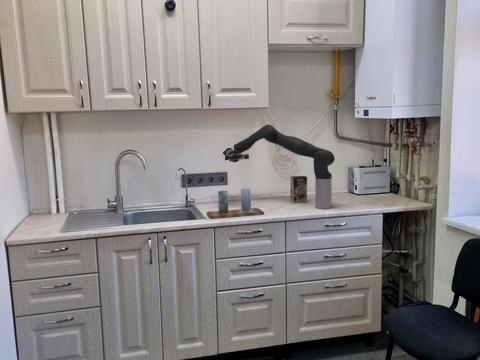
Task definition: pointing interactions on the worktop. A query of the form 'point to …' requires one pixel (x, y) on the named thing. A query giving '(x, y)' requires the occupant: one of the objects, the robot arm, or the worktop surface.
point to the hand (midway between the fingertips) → (239, 157)
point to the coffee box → (298, 189)
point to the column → (245, 200)
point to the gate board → (227, 213)
